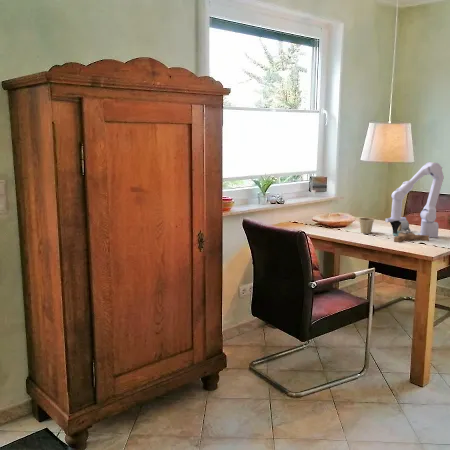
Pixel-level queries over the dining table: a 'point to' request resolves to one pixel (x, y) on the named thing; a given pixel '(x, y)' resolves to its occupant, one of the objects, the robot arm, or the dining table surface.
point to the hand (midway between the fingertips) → (394, 233)
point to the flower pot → (366, 224)
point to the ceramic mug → (404, 226)
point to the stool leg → (399, 232)
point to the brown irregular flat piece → (410, 237)
